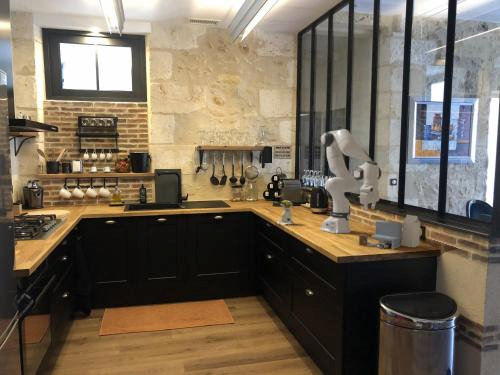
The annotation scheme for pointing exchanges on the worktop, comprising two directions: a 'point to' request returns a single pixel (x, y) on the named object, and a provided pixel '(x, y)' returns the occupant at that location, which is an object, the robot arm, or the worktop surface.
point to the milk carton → (411, 231)
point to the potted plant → (286, 213)
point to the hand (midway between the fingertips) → (369, 209)
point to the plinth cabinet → (389, 233)
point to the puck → (380, 246)
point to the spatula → (364, 242)
